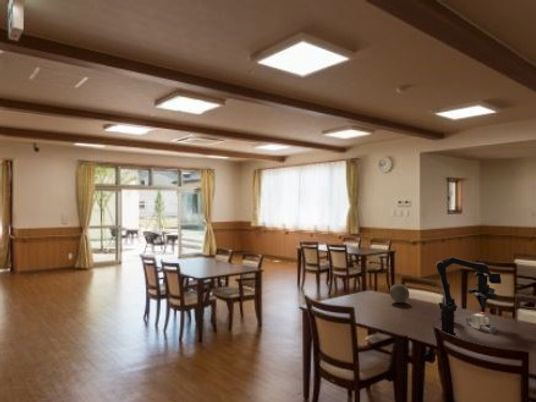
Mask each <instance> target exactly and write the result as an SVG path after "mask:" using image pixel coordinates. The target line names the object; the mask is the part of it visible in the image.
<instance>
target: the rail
mask: <svg viewBox="0 0 536 402" xmlns="http://www.w3.org/2000/svg"><path fill="white" fill-rule="evenodd" d="M465 322H466V325H468V326H469V325H470V326H471V327H472V317H466V321H465ZM496 328H497V327H496V326H495V325H492V326H491V325H490V326H489V327H488V326H486V327H485V326H483V325H480V329H479V330H482V331H484V332H487V333H489V334H492V335H493V334H496V331H497V330H496Z"/></svg>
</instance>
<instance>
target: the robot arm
mask: <svg viewBox="0 0 536 402" xmlns="http://www.w3.org/2000/svg"><path fill="white" fill-rule="evenodd" d="M453 264H455V265H460V266H462V267H467V268H470V269H473V270H474V271H476V272H475V273H474V276H475V277H477V283H475V286H476V287H477V288H468V290H467V291H468V292H467V293H468V294H471V295H472V294H473V293H474V297H475V299H476V300H477V302H478V304H479V306H480V307H481V308H484V307H485V306H486V303H487V301H488V300H496V299H497V300H498V295H497V293H495V291H496V289H495V288H493V287H491V286H490V285H489V284H488V282H489V283H490V284H492V285H496V284H497V285H501V284H502V277H501V273H499V272H496V273H495V272H491V271H489V267H488V265H486V264H485V263H483V262H472V261H468V260H465V259H461V258H458V257H455V256H449V257H448V258H445V259H443V260H439V261H437V262H436V263H435V268H436V269H437V271H438V274H439V277H440V282H441V284H442V289H443V294H444V303H443V305H448V303H452V305H451V306H453V305H457V303H456V302H455V301H456V299H455V297H454V296H451V292H450V288H449V287H450V286H449V283H448V279H447V268H448V267H450V266H452V265H453ZM441 313H442V310H441V311H440V318H439V320H440V321H442V314H441Z"/></svg>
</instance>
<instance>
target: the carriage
mask: <svg viewBox="0 0 536 402" xmlns="http://www.w3.org/2000/svg"><path fill="white" fill-rule="evenodd" d="M471 318H472V326H471V327H472V328H474V329H477V330H481V329H480V325H483V326H485V327H487V326H486V318H487V317H486V315H485V314H484V315H482V314H480V313H473V314H471Z"/></svg>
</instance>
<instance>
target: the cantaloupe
mask: <svg viewBox="0 0 536 402" xmlns="http://www.w3.org/2000/svg"><path fill="white" fill-rule="evenodd" d="M389 295H390V297H391V299H392V300H393V301H394V302H395V303H398V304H403V303H406V302H407V301H408V300H409V298H410V291H409V288H407V286H406V285H404V284H402V283H396V284H393V285H392V286H391V287H390V289H389Z"/></svg>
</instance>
